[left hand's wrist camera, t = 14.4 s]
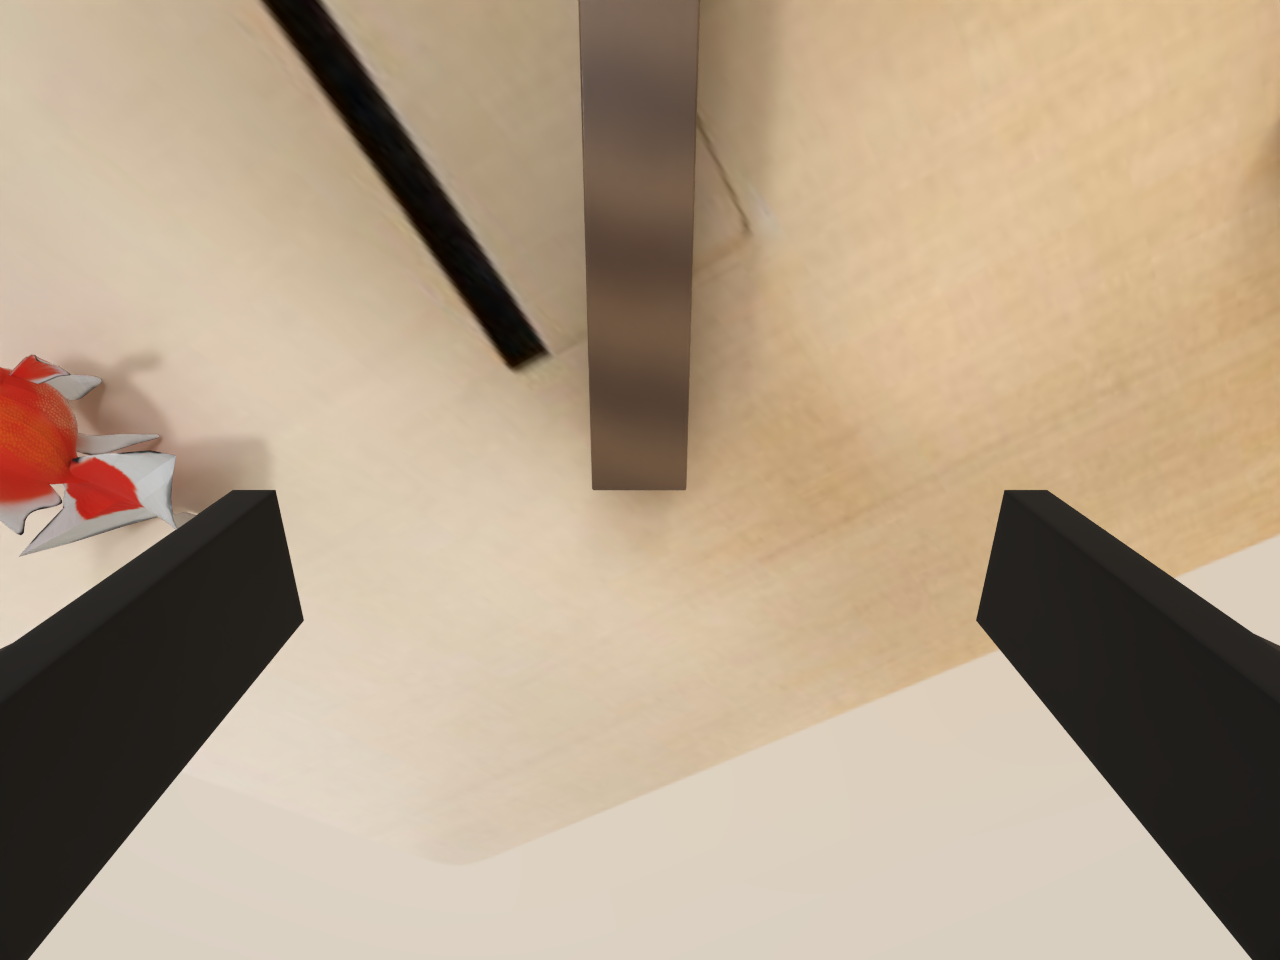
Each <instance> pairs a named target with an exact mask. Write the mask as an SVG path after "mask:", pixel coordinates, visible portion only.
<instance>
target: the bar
mask: <svg viewBox="0 0 1280 960" xmlns="http://www.w3.org/2000/svg"><path fill="white" fill-rule="evenodd" d="M699 12H700V0H579V35H580V70H581V106H582V142H583V178H584V214H585V249H586V285H587V321H588V357H589V393H590V428H591V464H592V489H593V490H686V478H687V442H688V406H689V370H690V334H691V298H692V263H693V227H694V191H695V155H696V119H697V83H698V48H699Z"/></svg>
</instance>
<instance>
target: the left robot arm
mask: <svg viewBox="0 0 1280 960" xmlns="http://www.w3.org/2000/svg"><path fill="white" fill-rule="evenodd" d="M303 621H304V619H303V615H302V610H301V605H300V601H299V596H298V592H297V587H296V582H295V578H294V573H293V569H292V564H291V559H290V555H289V550H288V546H287V541H286V536H285V532H284V527H283V523H282V518H281V513H280V509H279V504H278V500H277V495H276V490H232V491H231V492H229V493H228V494H227V495H225V496H224V497H222V498H221V499H219V500H218V501H217V502H215V503H214V504H212V505H211V506H209V507H208V508H206V509H205V510H204V511H202V512H201V513H199V514H198V515H196V516H195V517H194V518H192V519H191V520H189V521H188V522H186V523H185V524H183V525H182V526H181V527H179V528H178V529H176V530H175V531H173V532H172V533H171V534H169V535H168V536H166V537H165V538H163V539H162V540H160V541H159V542H158V543H156V544H155V545H153V546H152V547H150V548H149V549H148V550H146V551H145V552H143V553H142V554H140V555H139V556H137V557H136V558H135V559H133V560H132V561H130V562H129V563H127V564H126V565H125V566H123V567H122V568H120V569H119V570H117V571H116V572H114V573H113V574H112V575H110V576H109V577H107V578H106V579H104V580H103V581H102V582H100V583H99V584H97V585H96V586H94V587H93V588H91V589H90V590H89V591H87V592H86V593H84V594H83V595H81V596H80V597H79V598H77V599H76V600H74V601H73V602H71V603H70V604H68V605H67V606H66V607H64V608H63V609H61V610H60V611H58V612H57V613H56V614H54V615H53V616H51V617H50V618H48V619H47V620H45V621H44V622H43V623H41V624H40V625H38V626H37V627H35V628H34V629H32V630H31V631H30V632H28V633H27V634H25V635H24V636H22V637H21V638H20V639H18V640H17V641H15V642H14V643H12V644H10V645H8V646H6V647H4V648H1V649H0V960H28V959H29V958H30V956H31V955H32V954H33V953H34V951H35V950H36V949H37V948H38V947H39V945H40V944H41V943H42V942H43V940H44V939H45V938H46V937H47V935H48V934H49V933H50V932H51V931H52V929H53V928H54V927H55V926H56V924H57V923H58V922H59V921H60V919H61V918H62V917H63V916H64V915H65V913H66V912H67V911H68V910H69V908H70V907H71V906H72V905H73V903H74V902H75V901H76V900H77V899H78V897H79V896H80V895H81V894H82V892H83V891H84V890H85V889H86V888H87V886H88V885H89V884H90V883H91V881H92V880H93V879H94V878H95V876H96V875H97V874H98V873H99V872H100V870H101V869H102V868H103V867H104V865H105V864H106V863H107V862H108V860H109V859H110V858H111V857H112V856H113V854H114V853H115V852H116V851H117V849H118V848H119V847H120V846H121V844H122V843H123V842H124V841H125V840H126V838H127V837H128V836H129V835H130V833H131V832H132V831H133V830H134V828H135V827H136V826H137V825H138V824H139V822H140V821H141V820H142V819H143V817H144V816H145V815H146V814H147V812H148V811H149V810H150V809H151V808H152V806H153V805H154V804H155V803H156V801H157V800H158V799H159V798H160V797H161V795H162V794H163V793H164V792H165V790H166V789H167V788H168V787H169V785H170V784H171V783H172V782H173V780H174V779H175V778H176V777H177V776H178V774H179V773H180V772H181V771H182V769H183V768H184V767H185V766H186V765H187V763H188V762H189V761H190V760H191V758H192V757H193V756H194V755H195V754H196V752H197V751H198V750H199V749H200V747H201V746H202V745H203V744H204V742H205V741H206V740H207V739H208V738H209V736H210V735H211V734H212V733H213V731H214V730H215V729H216V728H217V726H218V725H219V724H220V723H221V722H222V720H223V719H224V718H225V717H226V715H227V714H228V713H229V712H230V710H231V709H232V708H233V707H234V706H235V704H236V703H237V702H238V701H239V699H240V698H241V697H242V696H243V694H244V693H245V692H246V691H247V690H248V688H249V687H250V686H251V685H252V683H253V682H254V681H255V680H256V679H257V677H258V676H259V675H260V674H261V672H262V671H263V670H264V669H265V667H266V666H267V665H268V664H269V663H270V661H271V660H272V659H273V658H274V656H275V655H276V654H277V653H278V651H279V650H280V649H281V648H282V647H283V645H284V644H285V643H286V642H287V640H288V639H289V638H290V637H291V635H292V634H293V633H294V632H295V631H296V629H297V628H298V627H299V626H300V624H301V623H302V622H303ZM976 621H977V622H978V623H979V624H980V626H981V627H982V628H983V629H984V631H985V632H986V633H987V634H988V635H989V637H990V638H991V639H992V640H993V642H994V643H995V644H996V645H997V647H998V648H999V649H1000V650H1001V651H1002V653H1003V654H1004V655H1005V656H1006V658H1007V659H1008V660H1009V661H1010V663H1011V664H1012V665H1013V666H1014V667H1015V669H1016V670H1017V671H1018V672H1019V674H1020V675H1021V676H1022V677H1023V678H1024V680H1025V681H1026V682H1027V683H1028V685H1029V686H1030V687H1031V688H1032V690H1033V691H1034V692H1035V693H1036V694H1037V696H1038V697H1039V698H1040V699H1041V701H1042V702H1043V703H1044V704H1045V706H1046V707H1047V708H1048V709H1049V710H1050V712H1051V713H1052V714H1053V715H1054V717H1055V718H1056V719H1057V720H1058V722H1059V723H1060V724H1061V725H1062V726H1063V728H1064V729H1065V730H1066V731H1067V733H1068V734H1069V735H1070V736H1071V738H1072V739H1073V740H1074V741H1075V742H1076V744H1077V745H1078V746H1079V747H1080V749H1081V750H1082V751H1083V752H1084V754H1085V755H1086V756H1087V757H1088V758H1089V760H1090V761H1091V762H1092V763H1093V765H1094V766H1095V767H1096V768H1097V769H1098V771H1099V772H1100V773H1101V774H1102V776H1103V777H1104V778H1105V779H1106V781H1107V782H1108V783H1109V784H1110V785H1111V787H1112V788H1113V789H1114V790H1115V792H1116V793H1117V794H1118V795H1119V797H1120V798H1121V799H1122V800H1123V801H1124V803H1125V804H1126V805H1127V806H1128V808H1129V809H1130V810H1131V811H1132V813H1133V814H1134V815H1135V816H1136V817H1137V819H1138V820H1139V821H1140V822H1141V824H1142V825H1143V826H1144V827H1145V829H1146V830H1147V831H1148V832H1149V833H1150V835H1151V836H1152V837H1153V838H1154V840H1155V841H1156V842H1157V843H1158V844H1159V846H1160V847H1161V848H1162V849H1163V851H1164V852H1165V853H1166V854H1167V856H1168V857H1169V858H1170V859H1171V860H1172V862H1173V863H1174V864H1175V865H1176V867H1177V868H1178V869H1179V870H1180V872H1181V873H1182V874H1183V875H1184V876H1185V878H1186V879H1187V880H1188V881H1189V883H1190V884H1191V885H1192V886H1193V888H1194V889H1195V890H1196V891H1197V892H1198V894H1199V895H1200V896H1201V897H1202V899H1203V900H1204V901H1205V902H1206V903H1207V905H1208V906H1209V907H1210V908H1211V910H1212V911H1213V912H1214V913H1215V915H1216V916H1217V917H1218V918H1219V919H1220V921H1221V922H1222V923H1223V924H1224V926H1225V927H1226V928H1227V929H1228V931H1229V932H1230V933H1231V934H1232V935H1233V937H1234V938H1235V939H1236V940H1237V942H1238V943H1239V944H1240V945H1241V946H1242V948H1243V949H1244V950H1245V951H1246V953H1247V954H1248V955H1249V956H1250V958H1251V959H1252V960H1280V646H1279V645H1277V644H1274V643H1272V642H1270V641H1268V640H1266V639H1264V638H1262V637H1260V636H1257V635H1255V634H1253V633H1252V632H1250V631H1249V630H1248V629H1246V628H1245V627H1243V626H1242V625H1240V624H1239V623H1237V622H1236V621H1235V620H1233V619H1232V618H1230V617H1229V616H1227V615H1226V614H1224V613H1223V612H1222V611H1220V610H1219V609H1217V608H1216V607H1214V606H1213V605H1212V604H1210V603H1209V602H1207V601H1206V600H1204V599H1203V598H1201V597H1200V596H1199V595H1197V594H1196V593H1194V592H1193V591H1191V590H1190V589H1189V588H1187V587H1186V586H1184V585H1183V584H1181V583H1180V582H1178V581H1177V580H1176V579H1174V578H1173V577H1171V576H1170V575H1168V574H1167V573H1166V572H1164V571H1163V570H1161V569H1160V568H1158V567H1157V566H1155V565H1154V564H1153V563H1151V562H1150V561H1148V560H1147V559H1145V558H1144V557H1143V556H1141V555H1140V554H1138V553H1137V552H1135V551H1134V550H1132V549H1131V548H1130V547H1128V546H1127V545H1125V544H1124V543H1122V542H1121V541H1120V540H1118V539H1117V538H1115V537H1114V536H1112V535H1111V534H1109V533H1108V532H1107V531H1105V530H1104V529H1102V528H1101V527H1099V526H1098V525H1097V524H1095V523H1094V522H1092V521H1091V520H1089V519H1088V518H1086V517H1085V516H1084V515H1082V514H1081V513H1079V512H1078V511H1076V510H1075V509H1074V508H1072V507H1071V506H1069V505H1068V504H1066V503H1065V502H1063V501H1062V500H1061V499H1059V498H1058V497H1056V496H1055V495H1053V494H1052V493H1051V492H1049V491H1048V490H1004V495H1003V500H1002V504H1001V509H1000V513H999V518H998V523H997V527H996V532H995V536H994V541H993V546H992V550H991V555H990V559H989V564H988V569H987V573H986V578H985V582H984V587H983V592H982V596H981V601H980V605H979V610H978V615H977V619H976Z"/></svg>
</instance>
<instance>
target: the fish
mask: <svg viewBox="0 0 1280 960" xmlns="http://www.w3.org/2000/svg"><path fill="white" fill-rule="evenodd" d="M100 383H101V379H100V378H98V377H95V376H87V375H70V374H69V373H68V372H67V371H65V370H64V369H62V368H61V367H59V366H56V365H54V364H51V363H49V362H47V361H45V360H43V359H40V358H38V357H37V356H35V355H30V356H29V357H26V358H24V359H23V360H22V361H21V362H20V363H19V364H18V365H17V366H16V367H15V368H14V370H11V369H6V368H1V367H0V521H1V522H2V523H4V524H5V525H6V526H8V527H9V528H10V529H11V530H13V531H14V532H16V533H17V534H19V535H22V534H23V533H24V526H25V520H26V518H27V516H28V515H29V514H30V513H32V512H34V511H36V510H40V509H44V508H50V507H54V506H57V505H59V504H61V503H62V500H61V498H60V496H59V495H58V494H57V492H56V491H55V490H54V489H53V488H52V487H51V486H50V485H49V484H64V486H65V493H64V501H63V509H62V510H61V511H60V512H59V513H58V514H57V515H56V516H55V517H54V518H53V520H52V521H51V522H50V523H49V524H48V525H47V526H46V527H45V528H44V529H43V530H42V531H41V532H40V533H39V534H38V535H37V536H36V537H35V539H34V540H33V541H32V542H31V543H30V544H29V545H28V547H27V548H26V549H25V550H24V551H23V552H22V553H21V555H20V556H23V555H27V554H31V553H34V552H38V551H42V550H46V549H49V548H53V547H57V546H61V545H64V544H68V543H72V542H75V541H78V540H82V539H85V538H88V537H91V536H94V535H97V534H101V533H104V532H107V531H110V530H113V529H117V528H120V527H123V526H126V525H130V524H133V523H137V522H141V521H144V520H148V519H151V518H155V517H160V518H161V519H163V520H164V521H166V522H167V523H168V524H170V525H171V526H172V527H173V528H175V529H178V528H179V527H181V526H182V525H183V524H185V523H186V522H188V521H189V520H191V519H192V518H194V517H195V516H196V515H194V514H190V513H187V512H183V513H175V514H174V513H173V511H172V504H171V488H172V477H173V471H174V465H175V459H176V456H175V455H170V454H165V453H160V452H155V451H139V452H127V453H110V454H105V453H109V452H112V451H115V450H118V449H121V448H124V447H127V446H130V445H134V444H137V443H141V442H144V441H148V440H152V439H156V438H158V437H159V435H150V434H114V435H99V436H92V435H84V434H80V433H77V431H78V430H77V422H76V418H75V415H74V413H73V410H72V408H71V406H70V405H69V403H68V401H67V400H66V399H69V400H78V399H80V398H82V397H83V396H85V395H86V394H87V393H88V392H89V391H91V390H92V389H93V388H95V387H96V386H98V385H99V384H100ZM76 451H77V452H80V453H83V454H88V455H91V456H84V457H78V456H77V453H76ZM20 556H19V557H20Z"/></svg>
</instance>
